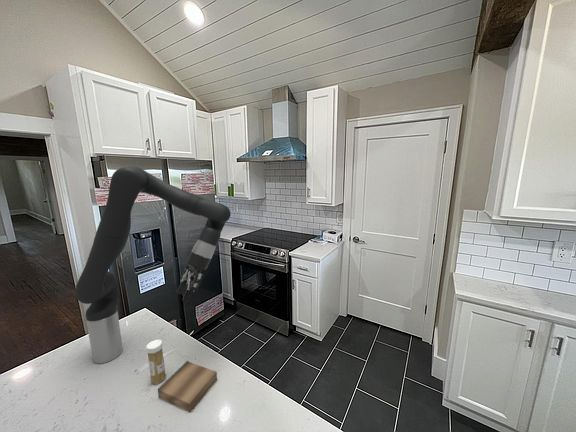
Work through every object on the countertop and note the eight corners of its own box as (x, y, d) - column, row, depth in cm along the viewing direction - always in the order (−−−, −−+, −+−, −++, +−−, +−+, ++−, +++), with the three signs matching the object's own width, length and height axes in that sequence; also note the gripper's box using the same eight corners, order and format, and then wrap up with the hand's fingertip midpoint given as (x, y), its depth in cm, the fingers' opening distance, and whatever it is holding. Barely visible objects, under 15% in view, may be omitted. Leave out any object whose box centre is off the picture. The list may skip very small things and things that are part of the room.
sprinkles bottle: (166, 380, 78) (162, 344, 76) (151, 387, 76) (146, 350, 74) (165, 371, 82) (161, 337, 80) (150, 377, 80) (145, 342, 78)
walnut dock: (158, 397, 72) (157, 388, 72) (188, 368, 83) (187, 360, 83) (190, 412, 68) (189, 403, 67) (217, 379, 79) (216, 371, 78)
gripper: (187, 248, 90) (167, 289, 86) (198, 254, 78) (176, 301, 75) (204, 254, 94) (186, 293, 90) (217, 261, 83) (197, 306, 79)
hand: (182, 297), depth 82 cm, fingers open, 8 cm apart
